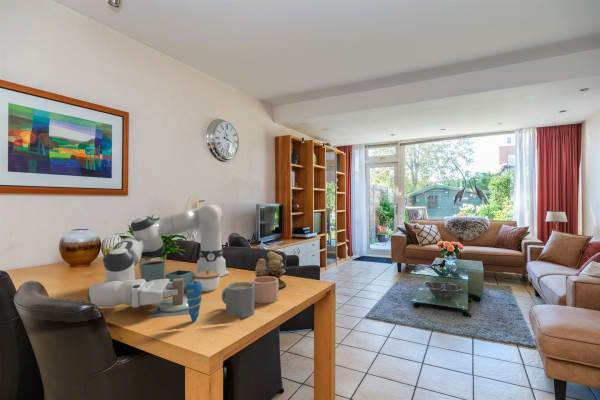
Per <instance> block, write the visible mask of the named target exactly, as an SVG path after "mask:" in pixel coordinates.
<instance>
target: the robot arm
mask: <svg viewBox="0 0 600 400" xmlns="http://www.w3.org/2000/svg"><path fill="white" fill-rule="evenodd" d="M222 217H223V210H222V208H221V207H220V206H219V205H217V204H215V203H214V204H213V203H211V204H204V205H203V206H200V207H195V208H192V209H187V210H183V211H180V212H179V211H178V212H176V213H173V214H172V213H171V214H170V215H167V216H166V215H165V216H163V217H161V218H159V219H156V218H154V217H151V216H149V215H146V216H145V215H144V216H140V217H137V218H135V219H134V220H132V221H131V224H130V229H131V232H132V233H133V236H134V237H131V236H130V237H129V236H128V237H125V238H123V239H122V240H121V241H119V242H117V243H116V244H115V246H114V247H113V248H112V250H109V251H108V252H107V253H106V254H105V255H104V256H103V257H102V262H103V266H104V273H105V280H104V281H102V282H97V283H92V284H90V285H89V286H88V291H87V300H88V304H89V303H93V304H95V305H97V306H98V307H97V308H107V307H108V308H110V307H117V306H120V305H125V306H131V308H139V307H140V306H146V305H154V304H158V303H159V302H161V301H162V300H164V298H168V297H173V295H177V294H178V289H173V290H168V289H169V288H173V282H170V279H165V278H164V279H158V280H151V281H149V282H146V280H145V279H142V278H138V279H136V272H135V271H136V269H135V267H136V266H137V265H138V264H139V262H140V261H141V259H142V258H143V257H144V258H146V259H153V258H157V257H159V256H161V255H162V254H164V251H165V243H164V242H163V239H162V238H163V237H161V236H162V235H163V236H166V237H171V236H170V235H172V236H176V235H179V234H183V233H187V232H190V231H193V230H197V229H199V235H200V250H199V258H198V259H197V261H196V271H195V273H193V278H195V275H196V274H197V273H200V272H206V270H209V271H215V272H219V273H220V278H221V277H223V276H227V275H230V271H228V270H227V269H226V259H225V258H224V257H223V253H224V251H223V247H222V242H223V241H222V234H223V233H222V225H221V220H222Z"/></svg>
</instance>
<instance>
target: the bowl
mask: <svg viewBox="0 0 600 400" xmlns="http://www.w3.org/2000/svg"><path fill="white" fill-rule="evenodd" d="M250 283H253V284H254V304H258V305H259V304H260V305H265V304H267V305H268V304H272V303H276V302H277V301H278V300H279V297H280V295H279V291H280V290H279V280H278V278H276V277H269V276H264V277H256V276H255V277H253V278H251V279H250Z"/></svg>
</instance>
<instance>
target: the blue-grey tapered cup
mask: <svg viewBox="0 0 600 400" xmlns="http://www.w3.org/2000/svg"><path fill="white" fill-rule="evenodd" d="M139 265H140V271H141V273H140V274H141V279H145V280H146V282H149V281H151V280H158V279H165V261H164V260H152V261H146V262H141V263H140V264H139Z"/></svg>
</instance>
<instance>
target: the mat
mask: <svg viewBox="0 0 600 400" xmlns="http://www.w3.org/2000/svg"><path fill="white" fill-rule="evenodd" d="M202 298H203V297H201V301H200V305H201V304H202ZM172 299H173V298H167V299H164V298H163V299H162V301H161V302H159V303H156V304H157V305H156V306H155V308H154V310H153V311H152V312H151V315H150V316H149V319H155V318H164V317H165V318H166V317H173V316H176V317H177V316H184V315H190V314H189V309H188V310H185V311H180V312H163V311H161V310H160V309H159V305H160V304H161V303H163V302H165V301H168V300H172ZM200 309H201V307H200V308H199V311H200Z"/></svg>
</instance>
